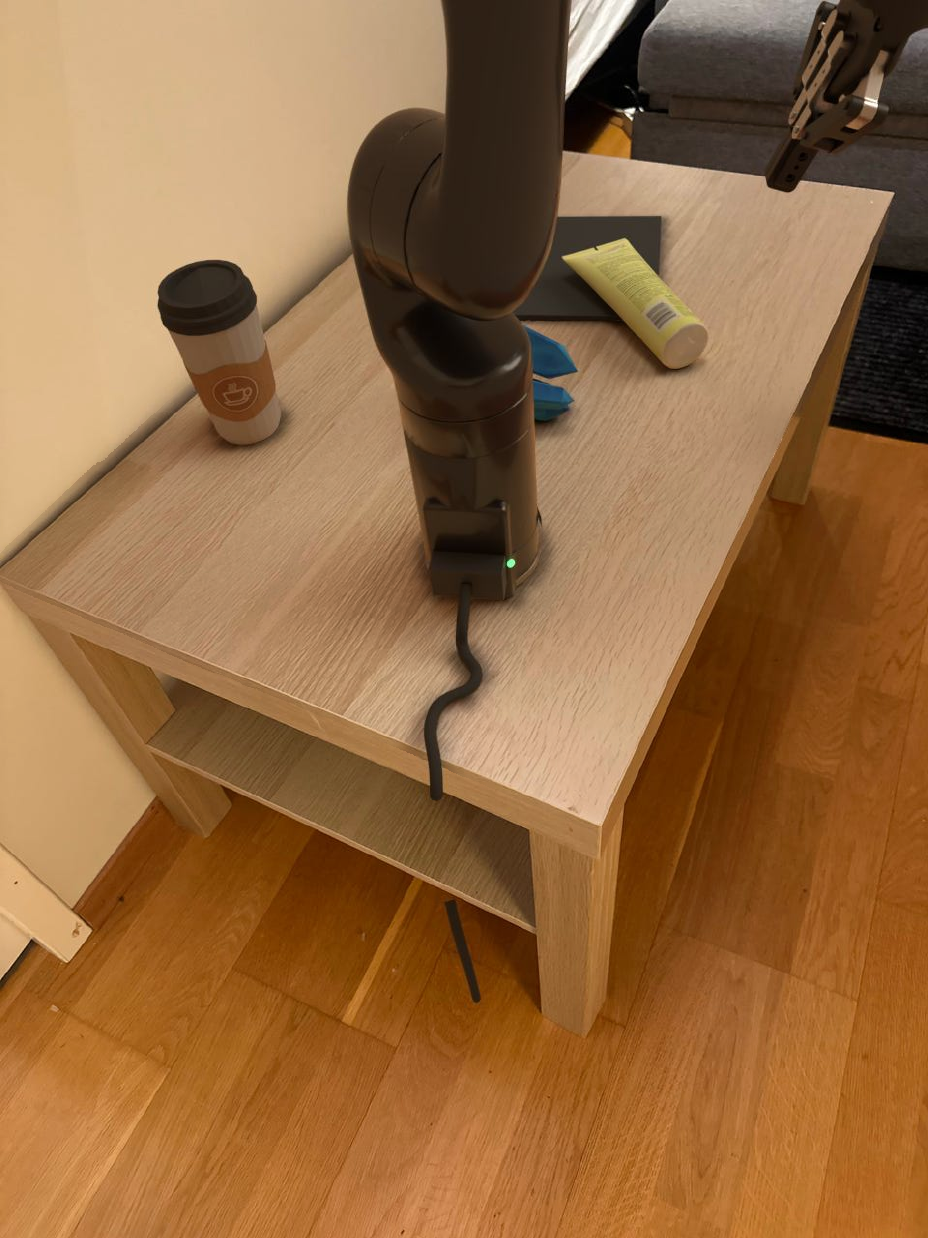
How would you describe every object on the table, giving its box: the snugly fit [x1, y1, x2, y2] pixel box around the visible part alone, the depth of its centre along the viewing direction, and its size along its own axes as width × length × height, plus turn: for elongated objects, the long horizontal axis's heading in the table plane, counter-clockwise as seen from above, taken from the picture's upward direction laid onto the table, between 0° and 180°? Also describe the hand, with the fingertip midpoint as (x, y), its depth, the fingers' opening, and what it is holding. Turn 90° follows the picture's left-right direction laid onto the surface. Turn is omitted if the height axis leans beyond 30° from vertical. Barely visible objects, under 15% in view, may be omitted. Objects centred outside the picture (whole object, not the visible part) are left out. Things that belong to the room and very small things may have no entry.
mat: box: [513, 215, 662, 322], centre depth 98 cm, size 20×22×1 cm
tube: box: [562, 238, 709, 370], centre depth 90 cm, size 6×5×20 cm
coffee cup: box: [156, 259, 282, 445], centre depth 81 cm, size 8×8×15 cm
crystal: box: [522, 324, 579, 422], centre depth 81 cm, size 7×9×12 cm
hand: (777, 184), depth 64 cm, fingers closed
